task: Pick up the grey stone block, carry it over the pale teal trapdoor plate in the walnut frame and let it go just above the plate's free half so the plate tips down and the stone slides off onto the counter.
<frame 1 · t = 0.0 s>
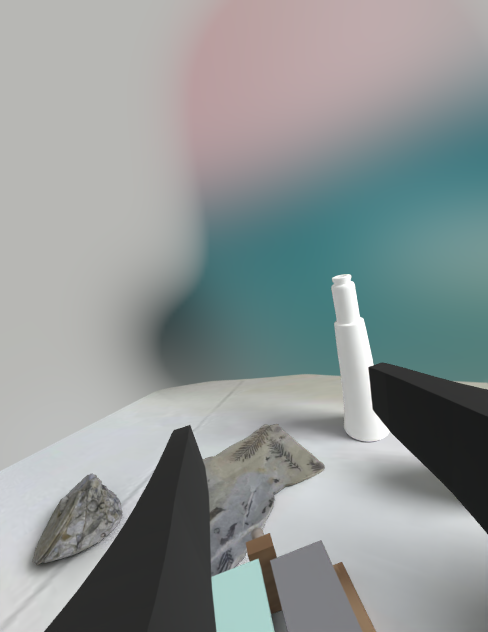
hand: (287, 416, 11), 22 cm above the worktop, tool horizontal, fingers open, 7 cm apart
fossilized seashell: (87, 529, 35), on the worktop
cosmetic bottle: (366, 428, 40), on the worktop
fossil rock: (249, 490, 35), on the worktop
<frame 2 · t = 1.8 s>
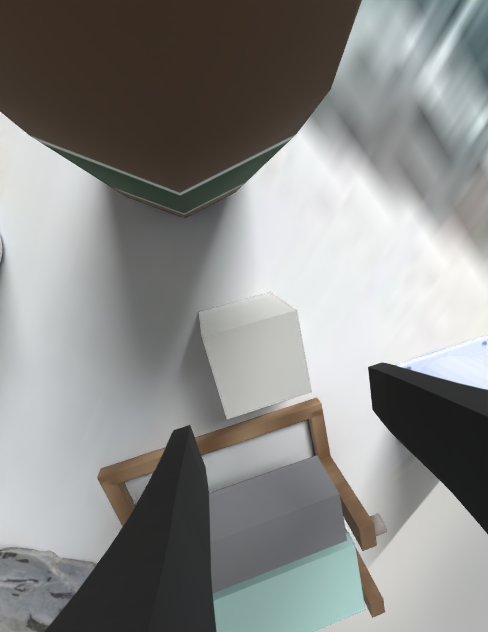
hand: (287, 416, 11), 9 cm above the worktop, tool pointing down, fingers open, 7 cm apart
walnut frame: (233, 491, 23), on the worktop
trapdoor plate: (249, 571, 19), point 5 cm above the worktop, hinge at 0.0°
beer bottle: (177, 147, 16), on the worktop
stone block: (243, 334, 19), on the worktop
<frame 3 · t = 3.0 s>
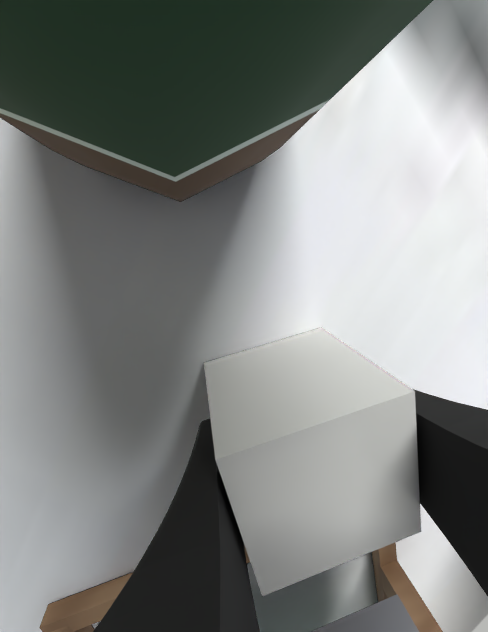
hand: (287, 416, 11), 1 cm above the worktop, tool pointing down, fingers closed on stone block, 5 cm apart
walnut frame: (253, 612, 16), on the worktop
beer bottle: (165, 67, 8), on the worktop
stone block: (276, 396, 12), on the worktop, touching gripper
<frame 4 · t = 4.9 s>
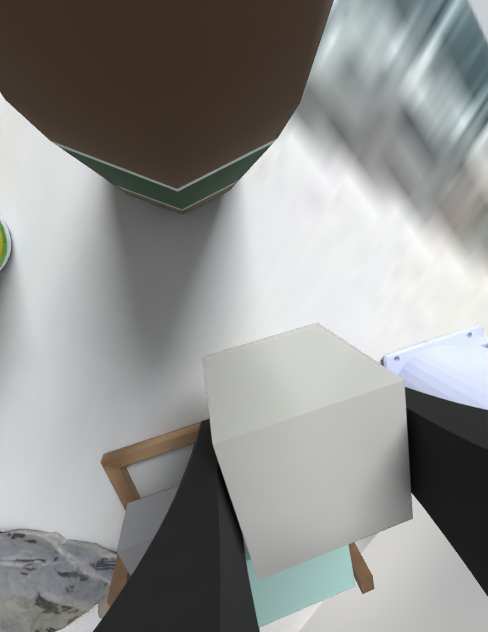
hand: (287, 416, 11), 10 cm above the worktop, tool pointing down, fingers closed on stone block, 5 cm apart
walnut frame: (230, 476, 24), on the worktop
trapdoor plate: (245, 549, 20), point 5 cm above the worktop, hinge at 0.0°
beer bottle: (175, 148, 17), on the worktop
stone block: (273, 390, 12), point 9 cm above the worktop, touching gripper
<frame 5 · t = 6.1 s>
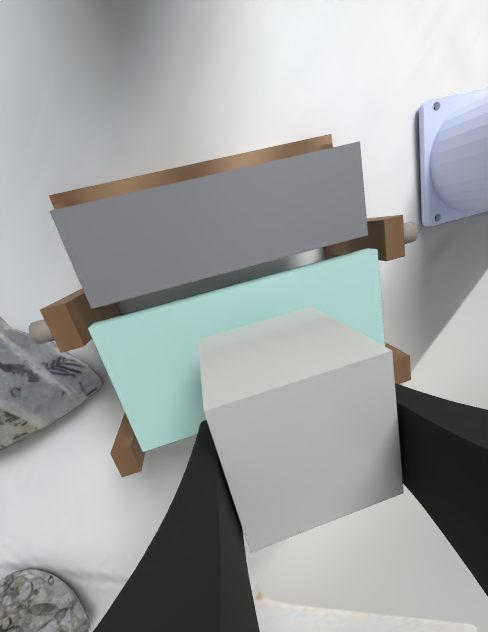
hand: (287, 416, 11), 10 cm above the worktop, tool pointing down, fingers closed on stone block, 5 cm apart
walnut frame: (223, 265, 19), on the worktop
trapdoor plate: (241, 301, 15), point 5 cm above the worktop, hinge at 0.0°
fossilized seashell: (31, 599, 24), on the worktop
stone block: (268, 374, 12), point 8 cm above the worktop, touching gripper
when the fingers open (9 cm above the worktop, at t = 6.9 s): stone block drops 5 cm and tips over, point 2 cm above the worktop.
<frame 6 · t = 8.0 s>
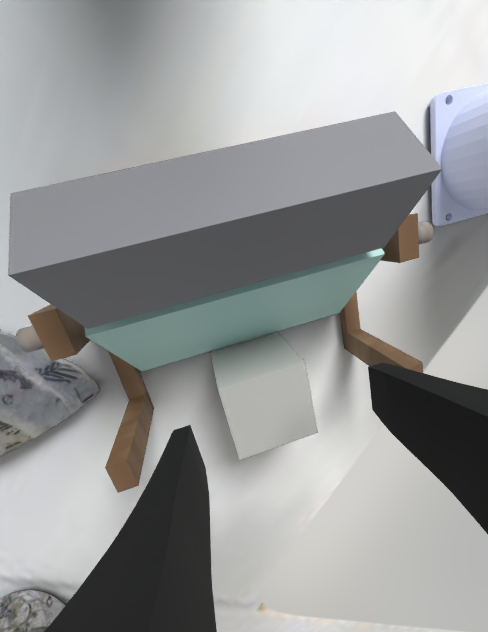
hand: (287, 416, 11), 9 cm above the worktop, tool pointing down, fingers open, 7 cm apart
walnut frame: (225, 267, 18), on the worktop
trapdoor plate: (236, 279, 14), point 4 cm above the worktop, hinge at -49.5°
fossilized seashell: (28, 619, 23), on the worktop
stone block: (252, 355, 17), point 2 cm above the worktop, tilted 90°
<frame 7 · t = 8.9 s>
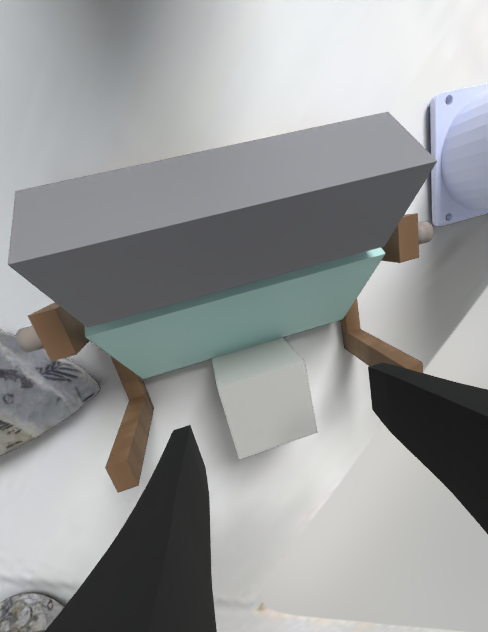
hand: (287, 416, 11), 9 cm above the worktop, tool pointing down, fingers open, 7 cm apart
walnut frame: (225, 267, 18), on the worktop
trapdoor plate: (237, 281, 14), point 4 cm above the worktop, hinge at -45.3°
fossilized seashell: (28, 622, 23), on the worktop
stone block: (251, 355, 17), point 2 cm above the worktop, tilted 90°
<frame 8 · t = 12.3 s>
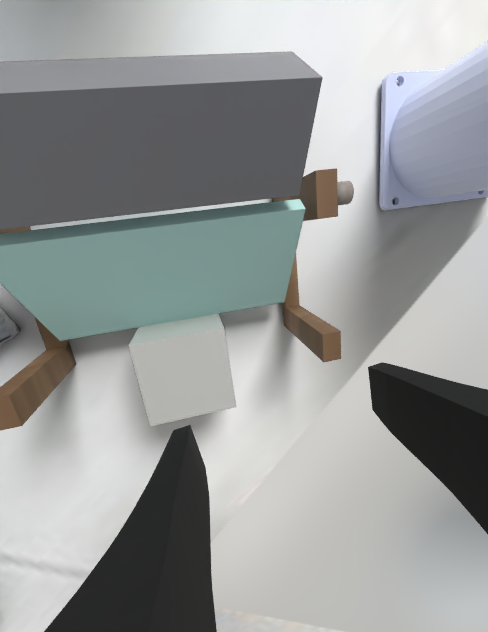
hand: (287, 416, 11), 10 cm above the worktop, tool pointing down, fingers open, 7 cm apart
walnut frame: (161, 222, 17), on the worktop
trapdoor plate: (155, 228, 14), point 4 cm above the worktop, hinge at -38.3°, touching stone block
stone block: (178, 322, 17), point 2 cm above the worktop, tilted 90°, touching trapdoor plate
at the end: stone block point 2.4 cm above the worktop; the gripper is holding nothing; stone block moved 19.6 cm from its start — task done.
